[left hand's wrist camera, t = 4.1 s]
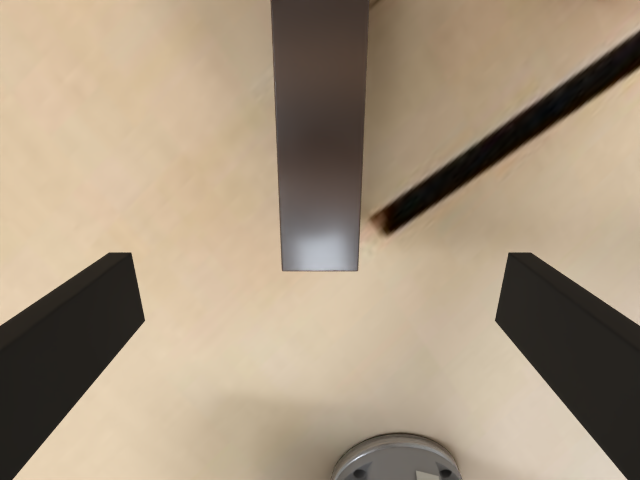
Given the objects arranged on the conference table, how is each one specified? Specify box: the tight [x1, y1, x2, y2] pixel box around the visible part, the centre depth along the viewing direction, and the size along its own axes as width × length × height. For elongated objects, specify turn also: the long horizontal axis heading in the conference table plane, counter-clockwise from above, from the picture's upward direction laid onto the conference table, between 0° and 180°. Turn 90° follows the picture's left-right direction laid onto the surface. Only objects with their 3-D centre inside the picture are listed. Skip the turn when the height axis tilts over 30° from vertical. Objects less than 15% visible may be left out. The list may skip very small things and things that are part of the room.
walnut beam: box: [271, 0, 369, 271], centre depth 22 cm, size 28×5×9 cm, turn 0°
